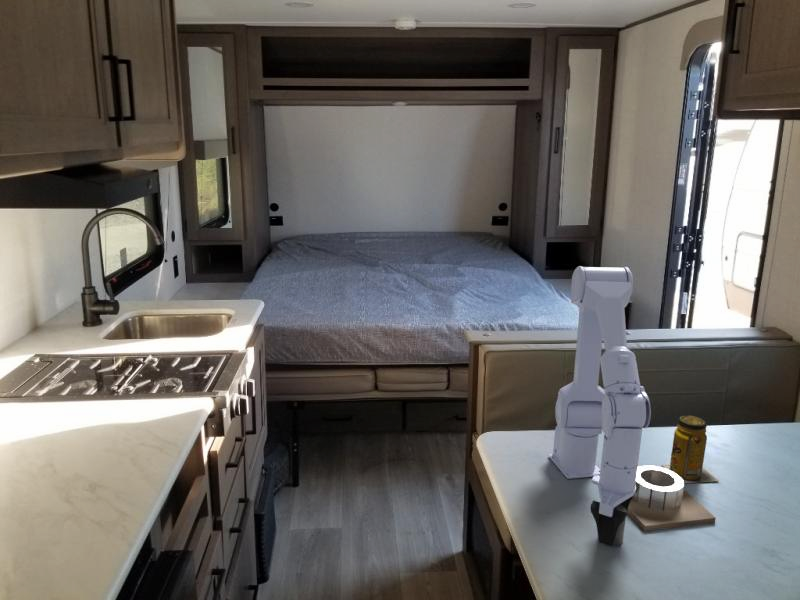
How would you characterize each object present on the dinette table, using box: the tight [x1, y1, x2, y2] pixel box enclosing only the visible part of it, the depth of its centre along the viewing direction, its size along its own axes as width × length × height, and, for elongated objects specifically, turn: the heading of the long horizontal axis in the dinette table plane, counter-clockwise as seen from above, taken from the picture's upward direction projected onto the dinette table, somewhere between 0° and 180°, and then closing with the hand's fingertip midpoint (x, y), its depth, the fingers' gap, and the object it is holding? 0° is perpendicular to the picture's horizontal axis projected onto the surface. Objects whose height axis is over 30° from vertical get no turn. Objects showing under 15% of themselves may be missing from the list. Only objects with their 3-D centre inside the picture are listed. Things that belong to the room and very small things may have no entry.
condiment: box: [661, 415, 720, 484], centre depth 129 cm, size 7×8×12 cm
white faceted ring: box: [633, 465, 685, 511], centre depth 120 cm, size 9×9×4 cm
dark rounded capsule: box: [611, 504, 627, 547], centre depth 109 cm, size 4×4×6 cm
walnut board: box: [627, 489, 717, 532], centre depth 120 cm, size 16×14×1 cm
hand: (611, 531), depth 109 cm, fingers open, 7 cm apart
